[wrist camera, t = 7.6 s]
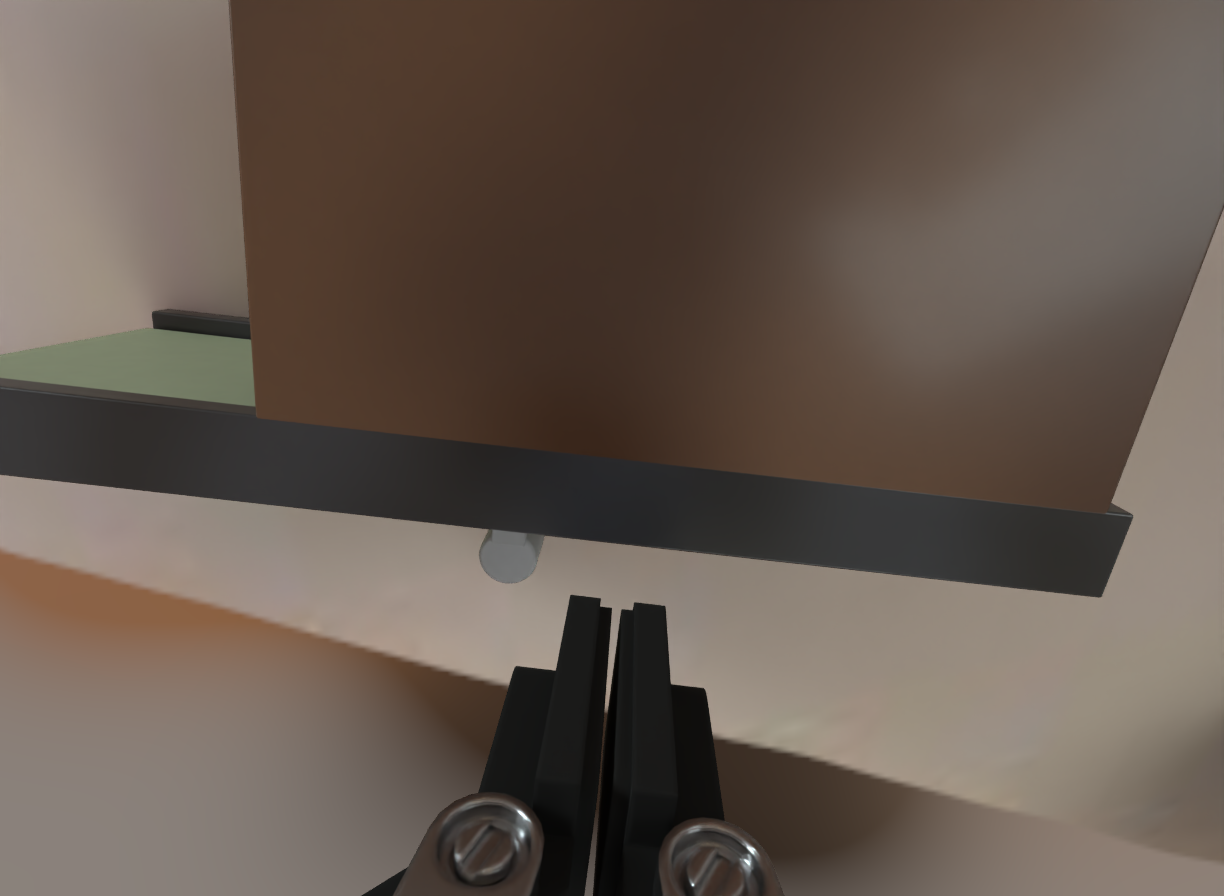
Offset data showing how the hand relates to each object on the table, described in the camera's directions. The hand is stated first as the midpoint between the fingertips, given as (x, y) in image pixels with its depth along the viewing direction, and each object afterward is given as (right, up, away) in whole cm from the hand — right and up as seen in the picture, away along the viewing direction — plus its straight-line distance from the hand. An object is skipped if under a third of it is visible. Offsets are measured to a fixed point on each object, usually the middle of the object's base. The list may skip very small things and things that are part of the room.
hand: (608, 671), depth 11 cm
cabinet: (-2, +11, +9) cm, 14 cm away
